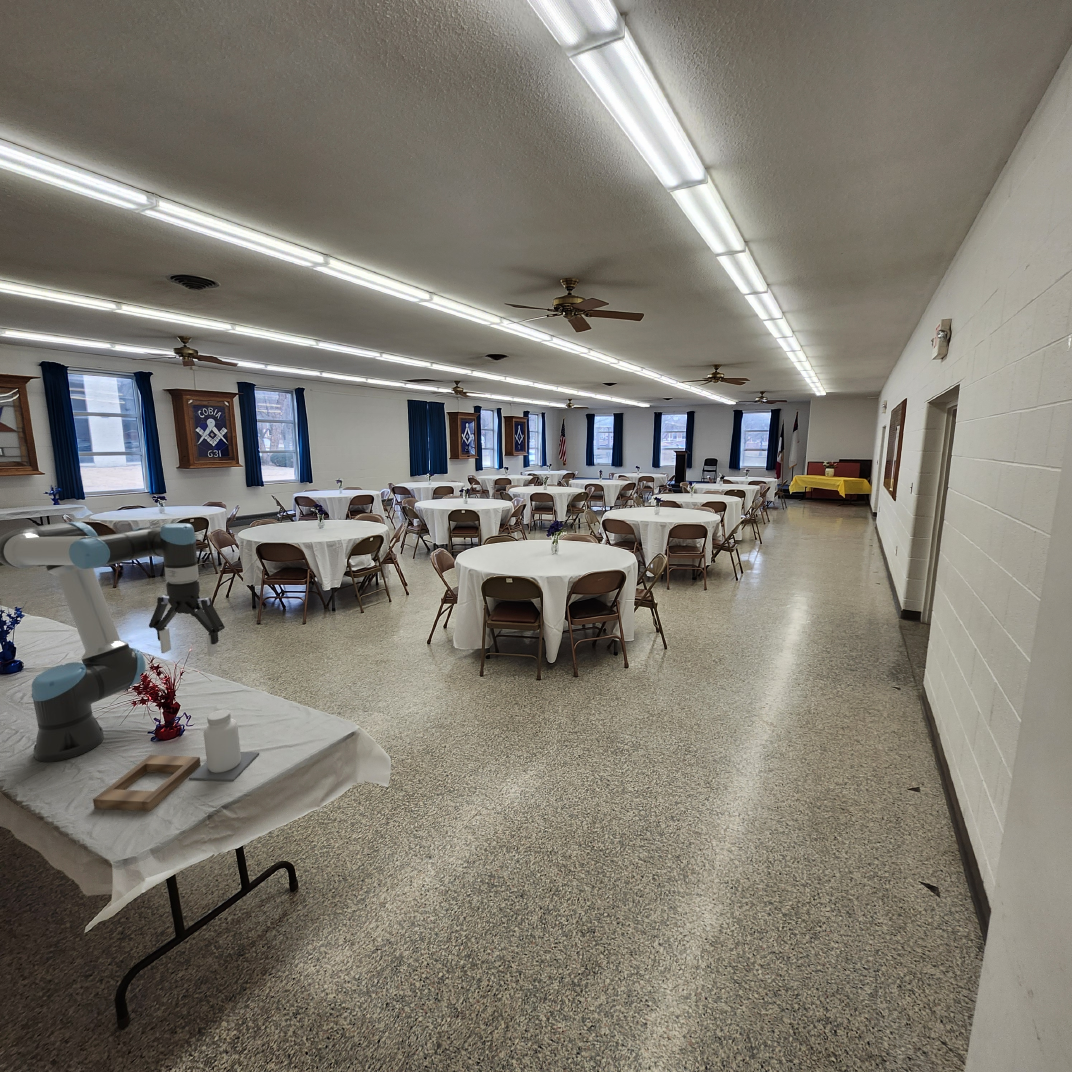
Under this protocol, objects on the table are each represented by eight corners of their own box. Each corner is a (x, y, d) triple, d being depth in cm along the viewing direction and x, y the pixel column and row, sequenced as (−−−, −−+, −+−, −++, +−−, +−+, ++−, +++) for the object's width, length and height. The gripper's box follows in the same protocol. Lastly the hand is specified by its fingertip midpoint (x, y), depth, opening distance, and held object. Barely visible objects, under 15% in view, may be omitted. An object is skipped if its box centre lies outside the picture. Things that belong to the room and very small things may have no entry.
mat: (188, 779, 139) (188, 777, 138) (218, 752, 150) (218, 750, 150) (233, 781, 138) (233, 779, 138) (259, 754, 150) (259, 752, 150)
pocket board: (94, 808, 127) (92, 799, 127) (151, 763, 145) (150, 754, 145) (150, 810, 127) (148, 801, 126) (200, 765, 144) (199, 756, 144)
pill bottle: (203, 776, 139) (197, 724, 136) (212, 758, 147) (206, 708, 144) (237, 770, 141) (231, 719, 139) (244, 753, 149) (239, 704, 146)
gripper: (127, 581, 141) (136, 655, 145) (217, 586, 140) (223, 661, 144) (149, 574, 149) (157, 644, 153) (235, 579, 147) (240, 650, 151)
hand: (189, 653), depth 148 cm, fingers open, 13 cm apart
